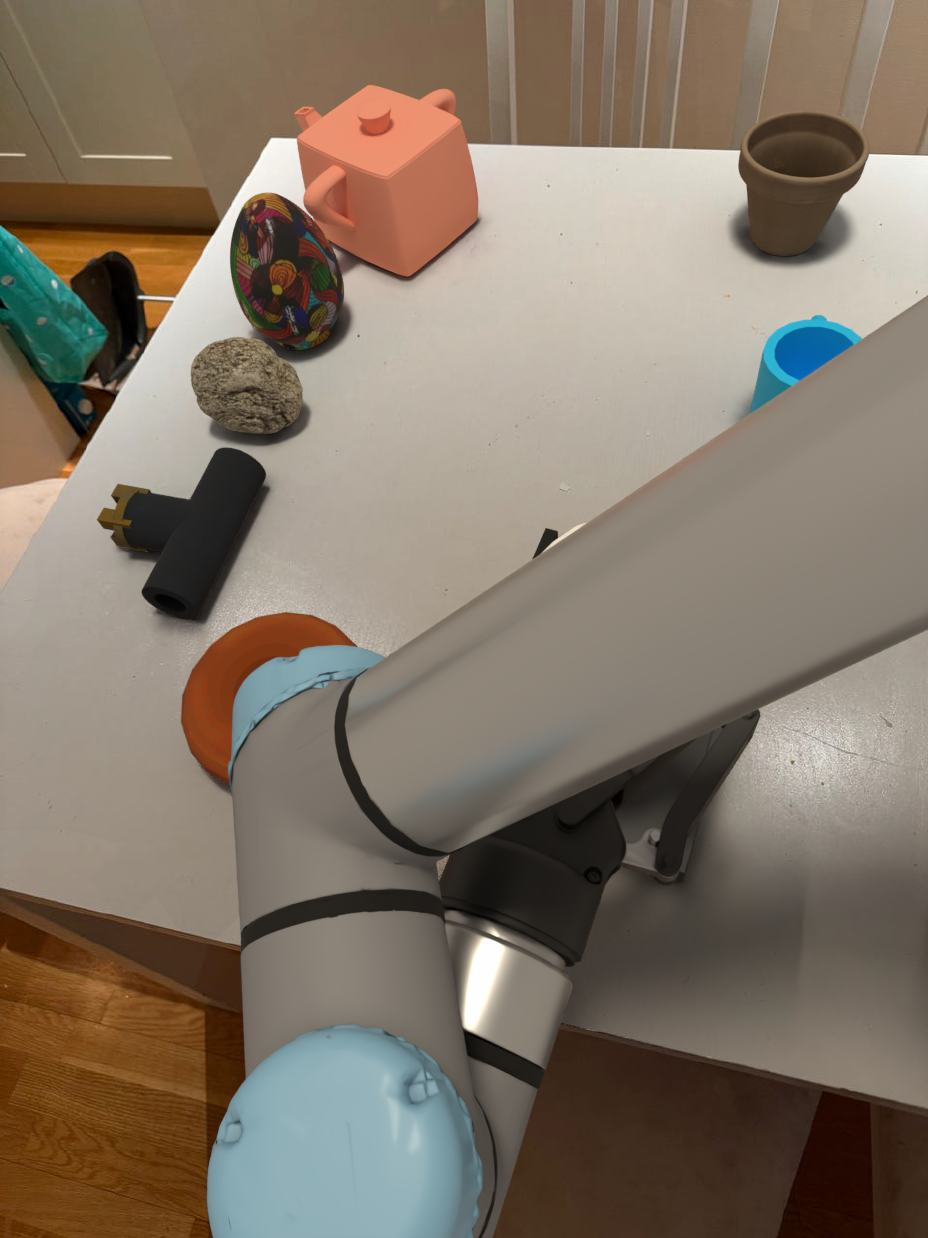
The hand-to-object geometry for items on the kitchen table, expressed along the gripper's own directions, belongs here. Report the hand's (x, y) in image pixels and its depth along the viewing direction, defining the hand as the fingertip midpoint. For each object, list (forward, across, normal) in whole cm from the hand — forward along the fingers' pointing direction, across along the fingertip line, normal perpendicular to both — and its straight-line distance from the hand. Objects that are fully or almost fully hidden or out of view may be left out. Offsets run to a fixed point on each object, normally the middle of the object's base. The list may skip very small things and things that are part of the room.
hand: (637, 564), depth 51 cm
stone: (+18, -42, -19) cm, 49 cm away
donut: (-9, -25, -19) cm, 33 cm away
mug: (+33, +6, -19) cm, 38 cm away
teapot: (+49, -43, -19) cm, 67 cm away
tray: (-4, 0, -19) cm, 19 cm away
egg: (+31, -44, -19) cm, 57 cm away
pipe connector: (+3, -42, -19) cm, 46 cm away
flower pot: (+56, 0, -19) cm, 59 cm away
